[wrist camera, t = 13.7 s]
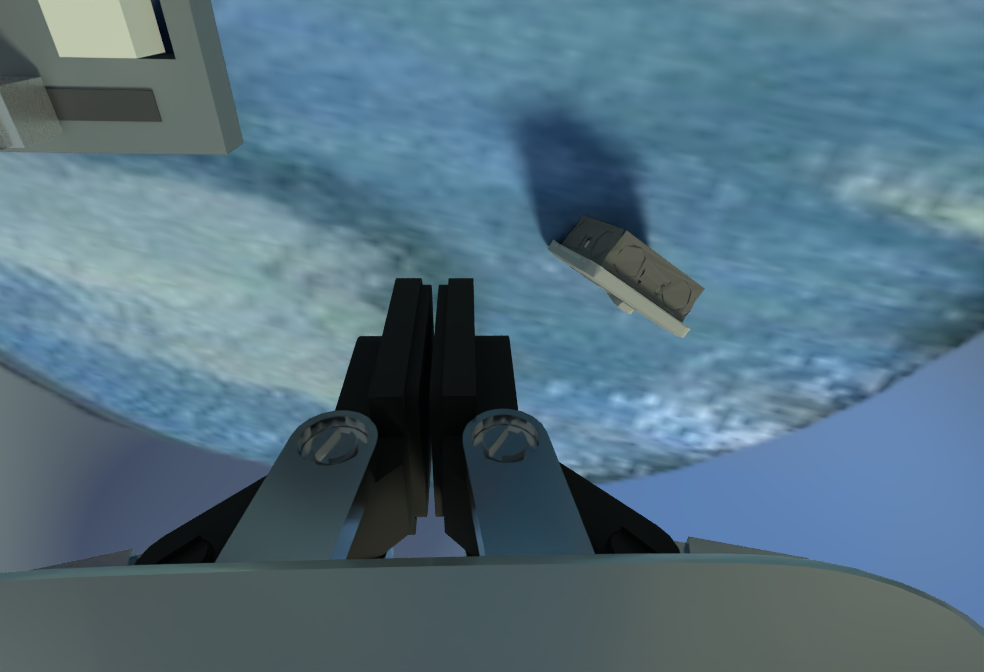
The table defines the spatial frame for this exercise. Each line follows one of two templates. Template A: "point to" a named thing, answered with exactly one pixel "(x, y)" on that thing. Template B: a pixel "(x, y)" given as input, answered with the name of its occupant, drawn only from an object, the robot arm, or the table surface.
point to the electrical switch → (629, 273)
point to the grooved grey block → (25, 113)
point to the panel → (129, 87)
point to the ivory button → (103, 28)
